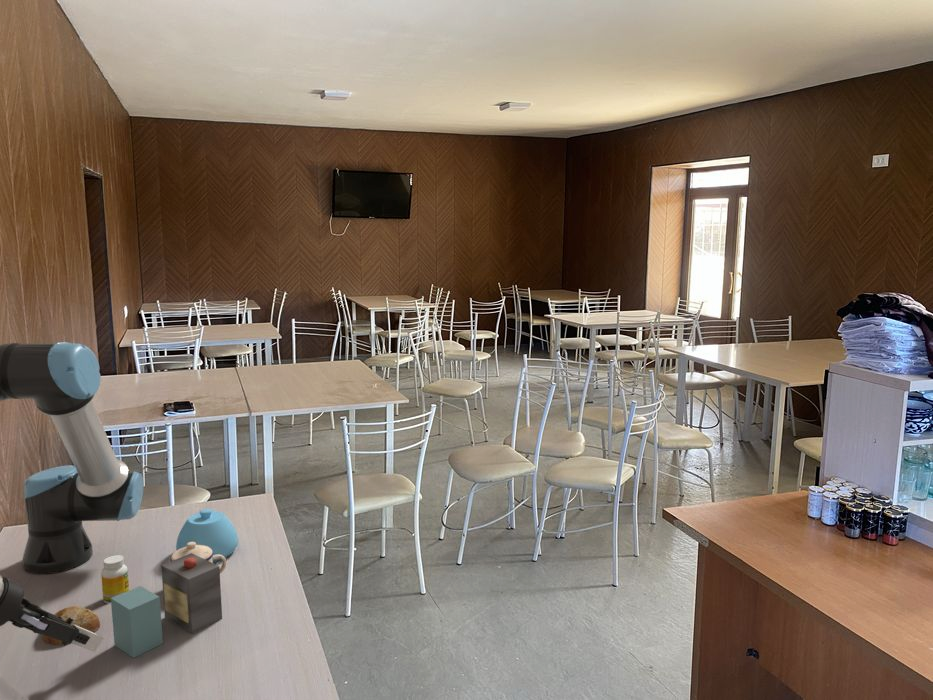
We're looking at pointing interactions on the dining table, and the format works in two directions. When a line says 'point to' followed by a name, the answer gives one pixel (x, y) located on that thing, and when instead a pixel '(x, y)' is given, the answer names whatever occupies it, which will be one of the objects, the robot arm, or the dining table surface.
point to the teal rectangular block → (136, 621)
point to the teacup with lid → (199, 553)
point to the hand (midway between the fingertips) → (97, 643)
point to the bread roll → (76, 620)
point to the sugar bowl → (209, 532)
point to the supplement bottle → (114, 577)
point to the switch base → (192, 592)
